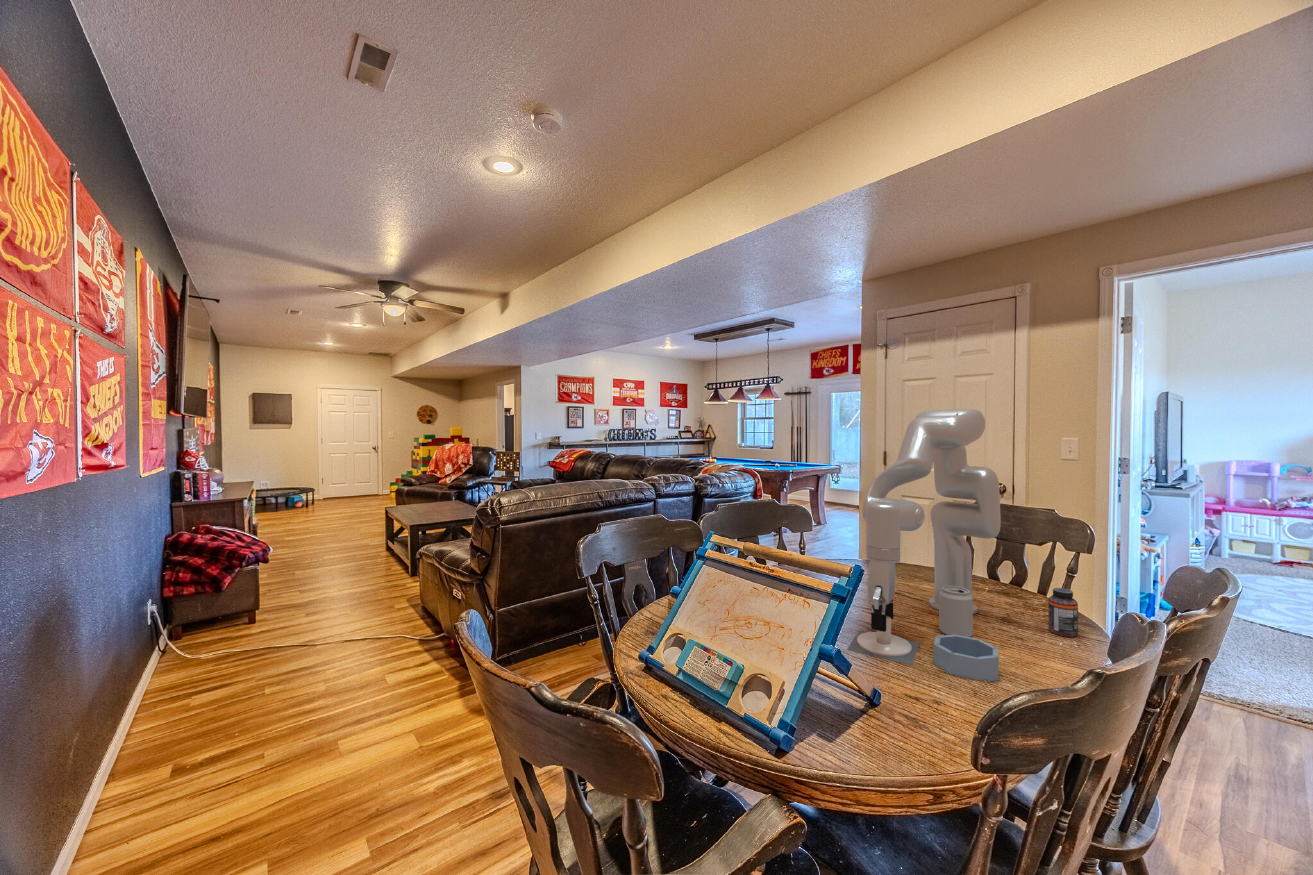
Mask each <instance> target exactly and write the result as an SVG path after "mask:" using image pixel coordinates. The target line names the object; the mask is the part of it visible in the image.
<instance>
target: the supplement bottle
mask: <svg viewBox="0 0 1313 875" xmlns="http://www.w3.org/2000/svg"><path fill="white" fill-rule="evenodd" d="M1073 597H1074V592H1073V591H1072V590H1071V589H1068V588H1063V587H1053V589H1052V595H1051V596H1049V597H1048V599H1047V600H1048V601H1047V602H1048V603H1047V604H1048V605H1047V606H1048V607H1047V608H1048V624H1047V625H1048V630H1049V632H1051V633H1052V634H1055V635H1058V636H1060V637H1066V638H1074V637H1077V636H1078V635H1079V604H1078V603H1079V602H1078V601H1077V600H1076V599H1075V598H1073Z"/></svg>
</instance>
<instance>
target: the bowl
mask: <svg viewBox="0 0 1313 875" xmlns="http://www.w3.org/2000/svg"><path fill="white" fill-rule="evenodd" d="M933 641H934V642H933V664H934V665H935V666H937V667H939V668H940V669H942V670H943V671H945V672H947V673H948V674H950V675H952V676H953V675H954V676H957V677H960V678H966V679H970V680H974V681H986V682H987V683H990V682H997V681H999V675H1000V674H999V672H1000V671H999V670H1000V669H999V668H1000V667H999V660H1000V659H999V648H998V647H996V646H994V645H993V644H990V643H988V642H986V641H984V640H982V639H980V638H975V637H972V636H971V637H965V636H960V635H955V634H953V635H946V634H944V635H936V636H935V638H934V640H933Z"/></svg>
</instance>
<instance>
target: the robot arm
mask: <svg viewBox="0 0 1313 875" xmlns="http://www.w3.org/2000/svg"><path fill="white" fill-rule="evenodd" d="M985 429H986V418H985V417H984V415H983V413H982V412H981V411H980V410H979V409H976V408H975V409H974V408H963V409H960V408H958V409H934V410H925V411H921V412H920V413H918V414H917V415H916V417H915V418H914V419H912V420H911V421H910V422H909V424H908V425H907V428H906V430H905V434H904V437H903V439H902V443H901V446H900V448H899V452H898V455H897V457H896V461H895V462H894V463H892V464H891V465H889V466H888V467H887V468H885V469H884V470H883V471H881V472H880V474H878V475H877V476H876V477H874V479H873V480H872V481H871V483H870V485H869V487H868V489H867V492H866V495H865V498H864V500H863V505H862V508H861V509H862V513H861V514H862V518H863V520H864V521H865V523H866V533H865V534H866V537H865V538H866V552H865V553H866V554H865V556H866V560H868V561H869V564H868V572H867V573H868V574H867V590H866V594H867V595H866V600H867V602H869V603H870V602H872V604H871V612H870V614H871V615H870V628H871V630H874V631H877V630H878V631H883V632H885V631H886V616H889V617H890V618H891V620H893V619H894V597H895V592H896V564H898V563H900V562H901V532H902V531H903V532H904V531H905V532H913V531H916V530H918V529H920V528H921V527H922V526H923V524H924V522H925V517H926V514H925V511H924V508H923V507H922V505H920V504H919V503H917V502H916V501H913V500H907V499H906V500H905V499H897V498H887V497H886V496H887V495H888V494H889V493H890V492H891V491H893V490H894V489H896V488H897V487H899V486H902V485H905V484H909V483H912V482H915V481H919V480H920V479H923V478H926V477H927V476H928V475H930V473H931V472H932V468H933V474H934V475H933V477H934V478H933V479H934V487H935V491H936V493H937V494H938V495H939V496H942V497H943V498H944V497H945V498H951V499H959V500H970V501H975V502H976V503H970V502H968V503H967V502H962V501H961V502H960V501H951V500H950V501H948V500H947V501H939V502H936V503H935V504H934V505H933V506H932V507H931V510H930V521H931V522H930V523H931V527H932V531H933V542H934V543H933V544H934V545H933V546H934V549H933V550H934V551H933V552H934V554H933V555H934V558H933V559H934V561H933V562H934V569H933V570H934V596H933V597H931V598H929V599H928V605H929V606H930V607H931V608H933V609H935V610H937V611H939V592H940V591H941V590H942V587H943V586H958V587H962V588H965V589H968V590H969V591H970V593H969V594H970V595H971V596H972V597H973V595H972V588H973V587H972V586H973V584H972V577H973V576H972V550H971V546H970V544H969V542H968V541H967V540H966V538H965V537H964V536H966V537H970V538H971V537H972V538H978V539H979V538H980V539H985V540H986V539H988V540H989V539H994V538H996V537H998V535H999V534H1000V531H1001V523H1002V522H1001V519H1002V518H1001V498H1000V496H1001V495H1000V494H1001V493H1000V481H999V478H998V476H997V474H996V472H995V471H994V470H993V469H991V468H988V467H984V466H969V465H968V458H967V448H966V446H969V445H970V444H972V443H974V442H976V441H978V439H980V438H981V437H982V436H983V434H984V432H985ZM978 612H979V607H978V605H976V604H975V603H974V602H973V615H975V614H977V613H978Z"/></svg>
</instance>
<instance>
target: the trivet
mask: <svg viewBox="0 0 1313 875" xmlns="http://www.w3.org/2000/svg"><path fill="white" fill-rule="evenodd" d="M866 632H868V631H866V630H861V629H859V631H858V632H857V634H856V635H855V637H854V638H853V640H852V641H851V643H850V644H849V646H848V647H847V649H846V651H849V652H855V653H858V654H861V655H862V654H863V655H866V656H867V655H868V656H871V657H875V658H879V659H883V660H888V661H891V662H892V661H893V662H897V663H900V664H906V665H910V666H912V665H913V664H914V660H915V657H916V654H917V651H918V649H919V646H920V643H921V642H919V641H914V640H911V639H910V640H909V639H906V640H907V641H908V642H909V643H910V644H911V653H910V654H909V655H907V656H904V657H885V656H880V655H876V654H872V653H870V652H867V651H865V650H863V649H862V648H861V647H860V646H859V645H858V643H857V637H858V636H859V635H860V634H862V633H866Z"/></svg>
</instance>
